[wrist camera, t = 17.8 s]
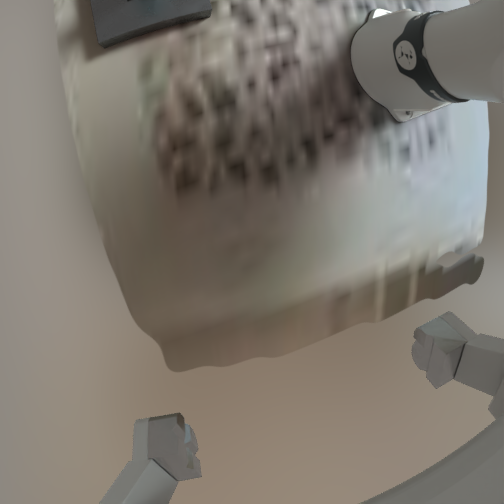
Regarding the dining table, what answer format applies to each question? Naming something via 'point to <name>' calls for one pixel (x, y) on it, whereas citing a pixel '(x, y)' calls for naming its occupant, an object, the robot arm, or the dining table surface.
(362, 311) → the dining table surface
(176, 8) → the socket block
